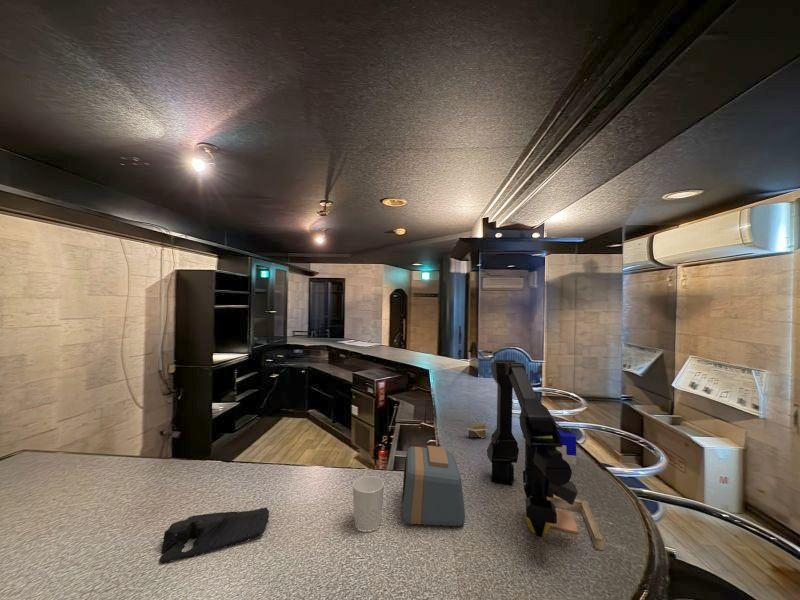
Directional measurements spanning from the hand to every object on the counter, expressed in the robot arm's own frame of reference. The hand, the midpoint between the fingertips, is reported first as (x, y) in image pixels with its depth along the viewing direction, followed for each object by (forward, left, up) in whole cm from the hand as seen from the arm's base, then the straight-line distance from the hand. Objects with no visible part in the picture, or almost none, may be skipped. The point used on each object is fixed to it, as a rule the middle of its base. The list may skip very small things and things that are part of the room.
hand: (538, 528), depth 76 cm
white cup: (-41, -11, -2) cm, 42 cm away
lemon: (0, 0, -2) cm, 2 cm away
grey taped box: (-27, +1, -2) cm, 27 cm away
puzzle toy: (+11, +50, -2) cm, 51 cm away
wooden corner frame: (+6, +8, -2) cm, 10 cm away
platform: (-20, +58, -2) cm, 61 cm away
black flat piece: (-73, -27, -2) cm, 78 cm away
